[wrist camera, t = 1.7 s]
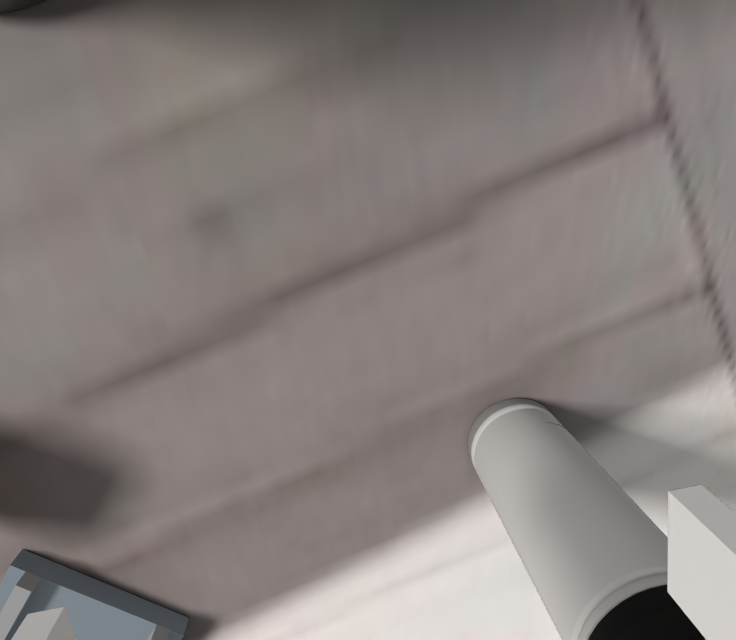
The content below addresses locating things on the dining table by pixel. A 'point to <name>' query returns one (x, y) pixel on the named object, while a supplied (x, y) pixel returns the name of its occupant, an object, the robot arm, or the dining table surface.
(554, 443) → the travel mug
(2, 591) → the rail
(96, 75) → the dining table surface
